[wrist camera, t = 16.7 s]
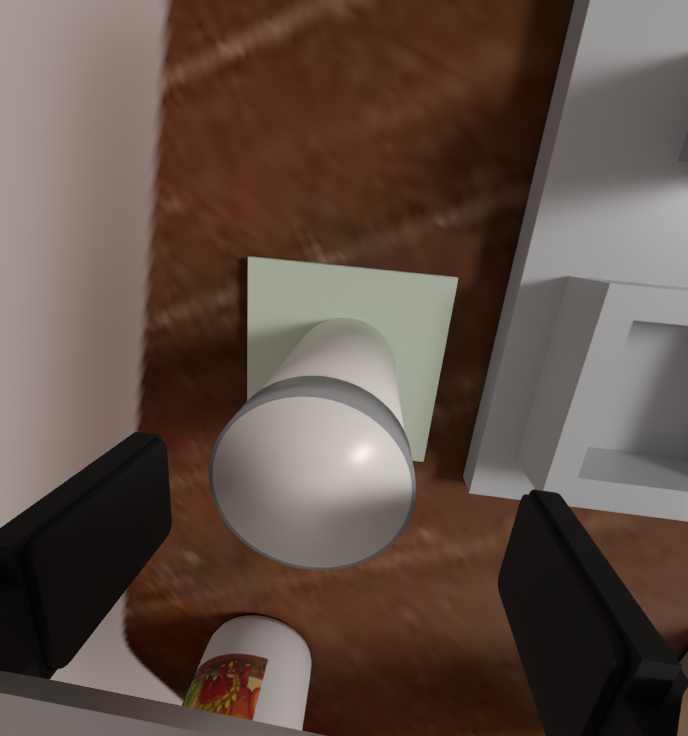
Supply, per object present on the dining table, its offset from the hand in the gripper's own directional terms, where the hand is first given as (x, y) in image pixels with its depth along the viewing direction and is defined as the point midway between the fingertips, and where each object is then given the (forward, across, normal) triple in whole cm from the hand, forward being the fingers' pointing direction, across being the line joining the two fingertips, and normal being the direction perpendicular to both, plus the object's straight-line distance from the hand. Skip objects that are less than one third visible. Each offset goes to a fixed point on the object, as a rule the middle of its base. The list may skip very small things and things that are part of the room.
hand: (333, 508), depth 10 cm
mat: (+11, +1, -1) cm, 11 cm away
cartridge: (+10, +1, -1) cm, 10 cm away
